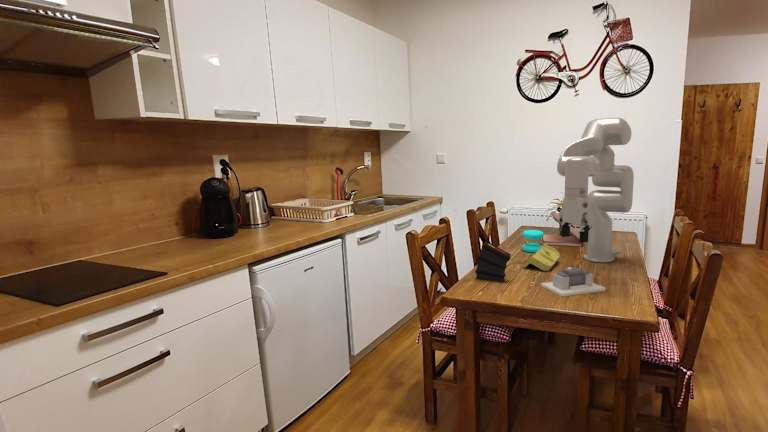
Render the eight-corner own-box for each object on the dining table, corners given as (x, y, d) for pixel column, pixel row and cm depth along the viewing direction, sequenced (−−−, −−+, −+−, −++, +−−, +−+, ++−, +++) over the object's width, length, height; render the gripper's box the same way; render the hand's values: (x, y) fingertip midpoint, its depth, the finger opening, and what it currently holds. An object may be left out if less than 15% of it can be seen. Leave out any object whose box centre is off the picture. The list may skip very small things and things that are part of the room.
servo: (581, 282, 155) (582, 264, 154) (589, 285, 151) (590, 267, 150) (555, 285, 153) (556, 267, 152) (562, 289, 149) (563, 270, 148)
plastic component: (550, 267, 171) (528, 254, 176) (542, 281, 175) (521, 268, 179) (562, 253, 187) (542, 241, 191) (554, 266, 190) (534, 254, 194)
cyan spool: (546, 230, 207) (541, 234, 199) (545, 249, 209) (540, 254, 200) (525, 228, 213) (520, 232, 204) (525, 247, 214) (520, 252, 206)
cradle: (582, 280, 160) (582, 267, 159) (605, 290, 149) (606, 276, 148) (541, 285, 156) (541, 272, 155) (561, 296, 145) (562, 281, 144)
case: (584, 247, 211) (585, 216, 209) (540, 245, 219) (541, 215, 216) (580, 239, 230) (582, 210, 228) (540, 237, 238) (541, 209, 235)
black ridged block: (470, 271, 171) (486, 240, 166) (499, 288, 167) (516, 257, 162) (467, 274, 168) (483, 243, 163) (497, 291, 164) (514, 259, 159)
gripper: (603, 194, 140) (600, 243, 142) (569, 189, 156) (567, 233, 159) (583, 195, 138) (581, 245, 141) (551, 190, 155) (550, 235, 157)
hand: (574, 239), depth 150 cm, fingers open, 9 cm apart
